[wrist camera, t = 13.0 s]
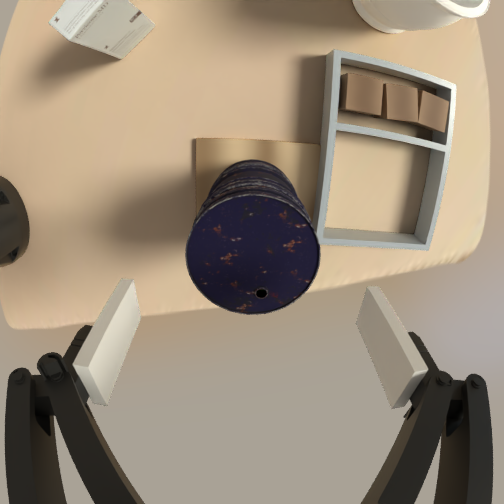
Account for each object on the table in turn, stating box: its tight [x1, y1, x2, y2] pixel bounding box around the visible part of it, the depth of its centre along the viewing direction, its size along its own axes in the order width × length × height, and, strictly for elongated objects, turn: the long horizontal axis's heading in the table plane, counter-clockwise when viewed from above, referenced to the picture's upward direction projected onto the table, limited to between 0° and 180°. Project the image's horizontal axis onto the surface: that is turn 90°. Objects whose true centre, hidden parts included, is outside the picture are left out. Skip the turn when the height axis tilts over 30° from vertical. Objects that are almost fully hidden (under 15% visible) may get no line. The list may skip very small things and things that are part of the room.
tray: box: [312, 49, 456, 251], centre depth 31 cm, size 16×22×3 cm
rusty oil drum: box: [185, 159, 321, 315], centre depth 28 cm, size 10×10×15 cm
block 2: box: [374, 83, 418, 122], centre depth 28 cm, size 4×4×4 cm
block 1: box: [338, 73, 383, 115], centre depth 28 cm, size 4×4×4 cm
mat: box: [196, 138, 321, 222], centre depth 35 cm, size 14×14×1 cm
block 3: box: [405, 90, 449, 133], centre depth 28 cm, size 4×4×4 cm
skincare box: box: [48, 0, 155, 59], centre depth 20 cm, size 6×4×12 cm
